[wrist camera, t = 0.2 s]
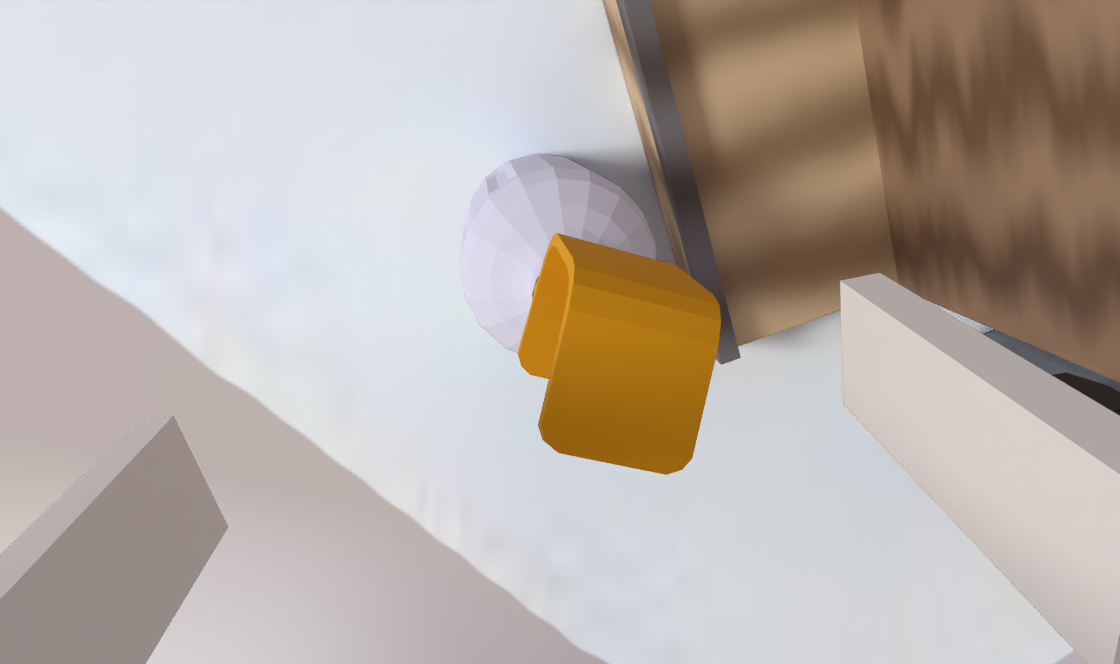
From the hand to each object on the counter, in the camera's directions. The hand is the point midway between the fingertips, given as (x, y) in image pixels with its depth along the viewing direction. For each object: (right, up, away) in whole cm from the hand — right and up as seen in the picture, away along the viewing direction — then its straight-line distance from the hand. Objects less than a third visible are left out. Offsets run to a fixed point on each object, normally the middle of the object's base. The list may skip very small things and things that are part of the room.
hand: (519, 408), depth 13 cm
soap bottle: (0, +8, +26) cm, 27 cm away
